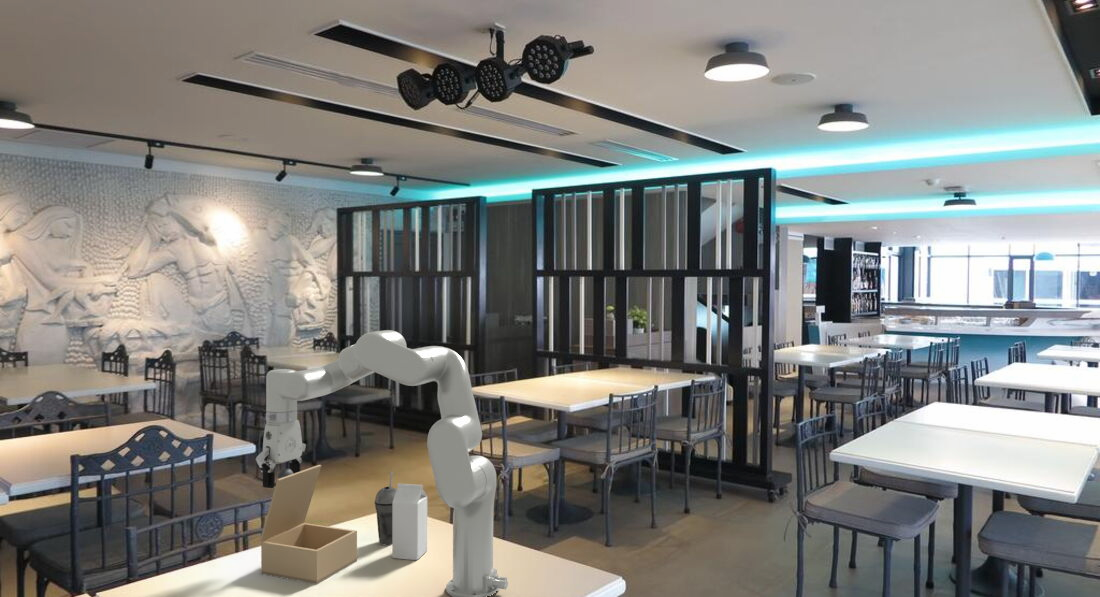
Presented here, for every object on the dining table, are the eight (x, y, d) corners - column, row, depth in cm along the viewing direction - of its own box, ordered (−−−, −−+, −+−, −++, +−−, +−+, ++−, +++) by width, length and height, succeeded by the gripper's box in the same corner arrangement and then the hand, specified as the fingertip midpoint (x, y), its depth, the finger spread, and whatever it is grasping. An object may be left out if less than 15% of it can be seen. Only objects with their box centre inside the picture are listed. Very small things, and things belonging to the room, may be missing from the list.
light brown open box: (357, 561, 192) (356, 530, 192) (317, 584, 177) (317, 551, 177) (304, 552, 198) (304, 523, 198) (261, 574, 183) (261, 542, 183)
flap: (321, 465, 196) (303, 455, 198) (279, 480, 181) (260, 469, 183) (304, 522, 198) (286, 512, 200) (261, 541, 183) (242, 530, 185)
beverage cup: (373, 539, 209) (373, 469, 208) (399, 536, 211) (399, 467, 210) (375, 548, 202) (375, 475, 201) (402, 545, 204) (402, 473, 204)
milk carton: (417, 560, 193) (417, 488, 192) (392, 558, 194) (392, 487, 194) (427, 551, 200) (427, 481, 199) (402, 549, 201) (402, 480, 201)
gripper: (269, 423, 181) (269, 492, 181) (315, 412, 197) (315, 476, 197) (245, 421, 183) (245, 489, 184) (292, 410, 200) (293, 473, 200)
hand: (281, 482), depth 191 cm, fingers open, 9 cm apart
